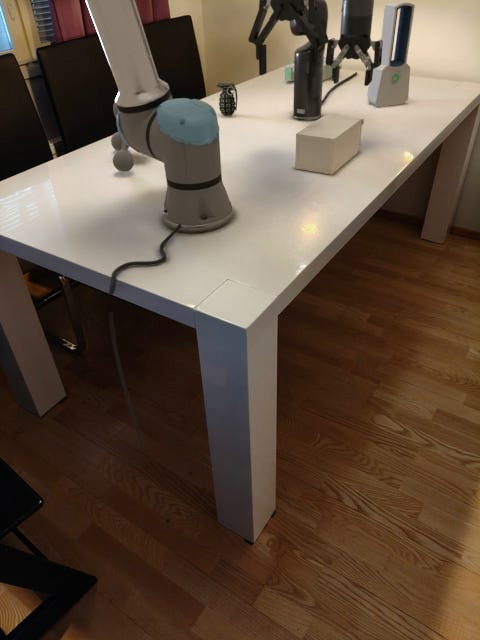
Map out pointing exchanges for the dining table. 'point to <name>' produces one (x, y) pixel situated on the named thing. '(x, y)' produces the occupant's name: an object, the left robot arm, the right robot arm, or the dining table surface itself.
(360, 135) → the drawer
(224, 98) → the grenade
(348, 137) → the cabinet
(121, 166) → the molecular model
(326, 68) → the decorative block
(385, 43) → the electronic device
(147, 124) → the left robot arm
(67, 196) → the dining table surface
